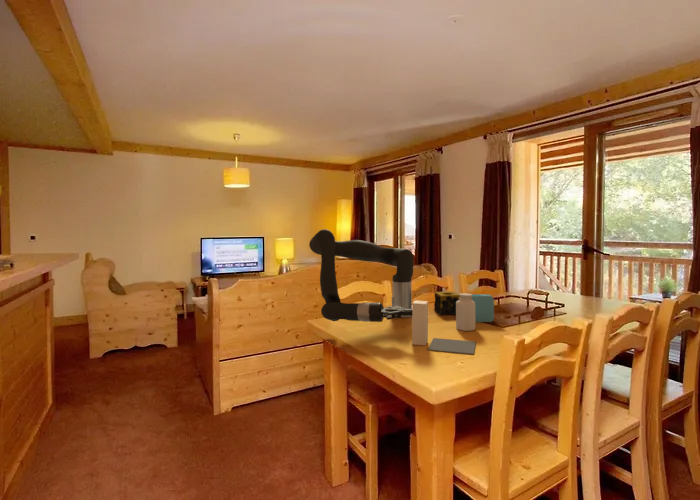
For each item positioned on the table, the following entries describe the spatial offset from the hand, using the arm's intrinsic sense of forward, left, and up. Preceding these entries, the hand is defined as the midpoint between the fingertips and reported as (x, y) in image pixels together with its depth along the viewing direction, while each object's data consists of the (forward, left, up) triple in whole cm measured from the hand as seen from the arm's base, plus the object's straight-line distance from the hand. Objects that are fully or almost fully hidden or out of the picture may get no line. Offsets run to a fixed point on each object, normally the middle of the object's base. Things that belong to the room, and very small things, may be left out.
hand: (413, 312), depth 147 cm
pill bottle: (+17, +25, -12) cm, 32 cm away
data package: (+22, +40, -12) cm, 47 cm away
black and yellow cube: (+6, +52, -12) cm, 53 cm away
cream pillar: (+2, 0, -12) cm, 12 cm away
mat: (+14, 0, -12) cm, 19 cm away
